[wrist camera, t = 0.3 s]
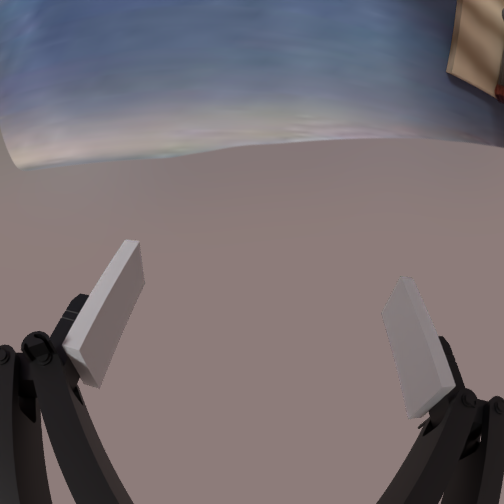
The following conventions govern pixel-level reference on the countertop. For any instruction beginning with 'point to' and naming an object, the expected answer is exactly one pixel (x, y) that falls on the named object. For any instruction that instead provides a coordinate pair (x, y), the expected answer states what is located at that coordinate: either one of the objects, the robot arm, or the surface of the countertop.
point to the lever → (500, 84)
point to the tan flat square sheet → (478, 43)
